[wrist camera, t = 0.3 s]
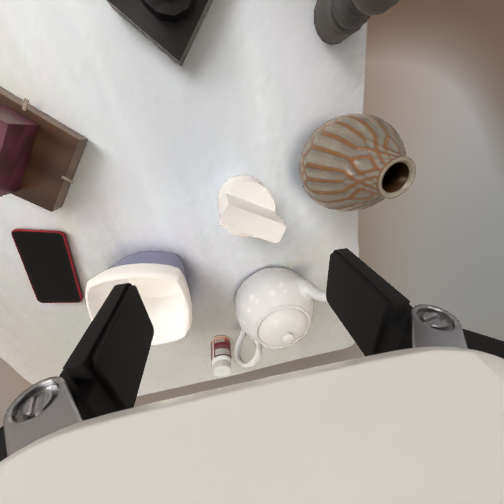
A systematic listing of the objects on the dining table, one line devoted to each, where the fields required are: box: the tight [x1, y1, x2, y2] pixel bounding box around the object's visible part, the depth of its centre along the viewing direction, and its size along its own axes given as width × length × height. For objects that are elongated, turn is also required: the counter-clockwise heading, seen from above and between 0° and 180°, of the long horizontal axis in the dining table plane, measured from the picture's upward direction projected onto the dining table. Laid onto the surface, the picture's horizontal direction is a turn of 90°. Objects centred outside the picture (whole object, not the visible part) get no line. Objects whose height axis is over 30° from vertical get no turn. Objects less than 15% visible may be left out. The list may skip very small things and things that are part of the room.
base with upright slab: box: [218, 175, 286, 244], centre depth 35 cm, size 9×9×12 cm
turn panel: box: [0, 87, 88, 212], centre depth 30 cm, size 14×14×3 cm
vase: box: [299, 114, 416, 211], centre depth 31 cm, size 13×13×18 cm
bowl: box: [85, 251, 192, 346], centre depth 39 cm, size 15×15×11 cm
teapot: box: [234, 267, 327, 368], centre depth 46 cm, size 19×18×14 cm
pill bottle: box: [211, 335, 232, 377], centre depth 53 cm, size 5×5×8 cm
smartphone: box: [11, 229, 82, 303], centre depth 39 cm, size 7×1×15 cm
